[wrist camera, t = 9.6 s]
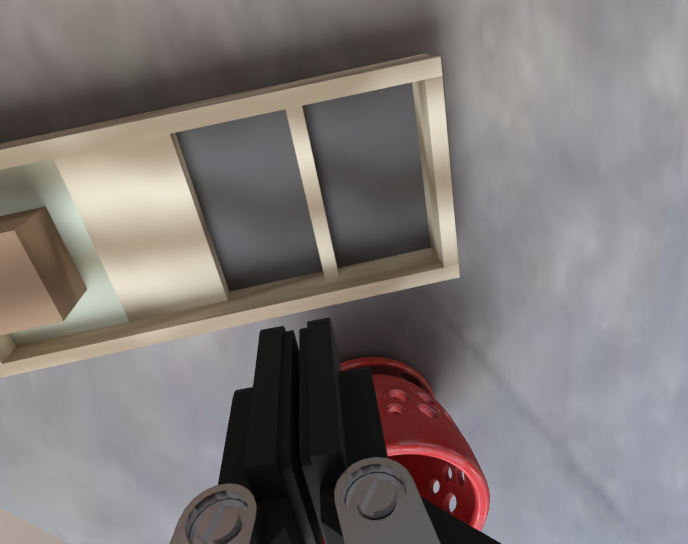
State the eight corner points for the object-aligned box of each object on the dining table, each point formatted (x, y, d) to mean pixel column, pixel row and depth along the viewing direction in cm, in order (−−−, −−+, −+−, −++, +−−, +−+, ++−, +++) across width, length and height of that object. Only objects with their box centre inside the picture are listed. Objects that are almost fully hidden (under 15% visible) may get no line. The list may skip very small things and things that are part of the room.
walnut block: (-51, 227, 30) (-96, 254, 27) (45, 206, 30) (14, 230, 27) (-1, 308, 33) (-36, 343, 29) (87, 289, 33) (63, 321, 29)
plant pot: (451, 432, 45) (504, 559, 34) (313, 471, 45) (323, 609, 34) (426, 316, 39) (480, 426, 28) (266, 362, 39) (260, 488, 28)
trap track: (-94, 163, 30) (-138, 179, 27) (424, 53, 30) (440, 56, 27) (19, 348, 36) (-6, 378, 33) (444, 255, 36) (459, 277, 33)
